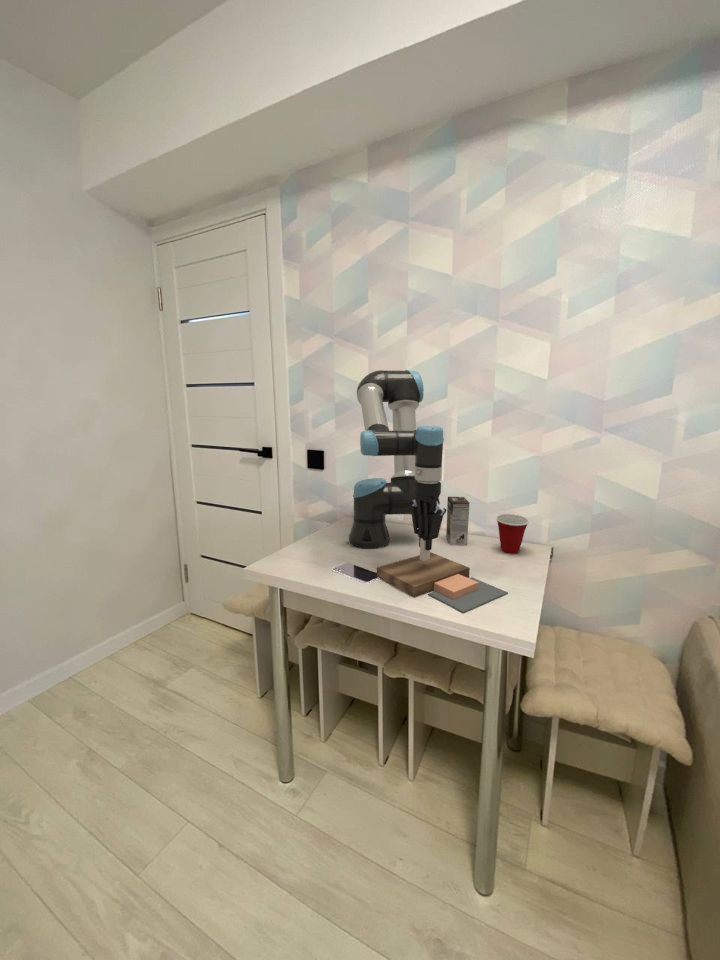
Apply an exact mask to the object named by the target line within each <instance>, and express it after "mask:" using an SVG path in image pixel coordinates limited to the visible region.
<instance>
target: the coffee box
mask: <svg viewBox="0 0 720 960" xmlns="http://www.w3.org/2000/svg"><path fill="white" fill-rule="evenodd" d="M446 504H447V505H446V506H447V508H446V530H445V531H446V536H445V537H447V538H446V540H447V539H448V540H447V541H448V543H449V545H450V546H468V536H469V519H470V515H469V514H470V502H469V501H468V499H466V497H464V496H447V503H446Z"/></svg>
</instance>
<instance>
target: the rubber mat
mask: <svg viewBox="0 0 720 960" xmlns="http://www.w3.org/2000/svg"><path fill="white" fill-rule="evenodd" d="M469 579H472V580H474V581H477V582H478V589H477V590H475V591H473V592H470V593H468V594H466V595H463V596H461V597H459V598H456V599H452V598H450V597H448V596H446V595H443V594H441V593H439V592H437V591H435V590H434V591H431V592H428V593H427V596H428V597H431V598H433V599H435V600H437V601H439V602H441V603H443V604H444V605H446V606H448V607H450V608H452V609H455V610H456V611H458V612H460V613H462V614H465V613H467V612H470V611H473V610H475V609H477V608H479V607H481V606H483V605H486V604H489V603H490V602H493V601H495V600H496V599H499V598H503V597H504V596H506V595H508V594H509V592H508V591H506V590H503V589H501V588H498V587H496V586H495V585H491V584H490V583H487V582H484V581H482V580H479V579H477V578H475V577H469Z"/></svg>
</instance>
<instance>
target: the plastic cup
mask: <svg viewBox="0 0 720 960" xmlns="http://www.w3.org/2000/svg"><path fill="white" fill-rule="evenodd" d="M495 520H496V521H497V526H498V535H499V544H500V551H501V550H502V551H501V552H502V553H506V554H508V553H510V554H511V555H516V554H518V553H519V552H520V550H521V546H522V543H523V539H524V535H525V533H526V529H527V527H528V525H529V523H530V519H529V518H527V517H525V516H522V515H519V514H515V513H514V514H511V513H502V514H501V513H500V514H499V515H496V516H495Z"/></svg>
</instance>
